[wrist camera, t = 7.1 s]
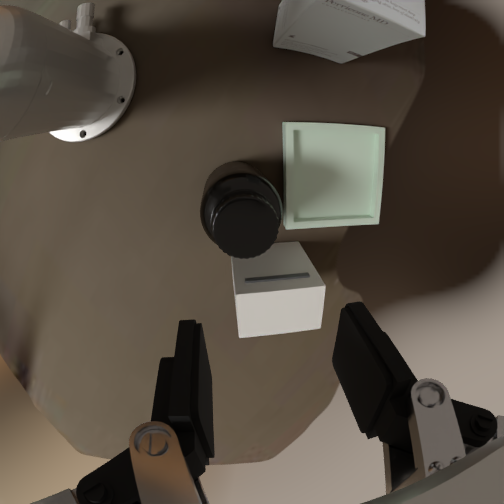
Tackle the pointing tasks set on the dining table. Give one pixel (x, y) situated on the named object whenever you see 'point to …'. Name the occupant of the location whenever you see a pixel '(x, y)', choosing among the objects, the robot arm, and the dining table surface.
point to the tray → (332, 174)
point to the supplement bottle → (240, 210)
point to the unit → (277, 292)
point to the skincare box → (347, 26)
